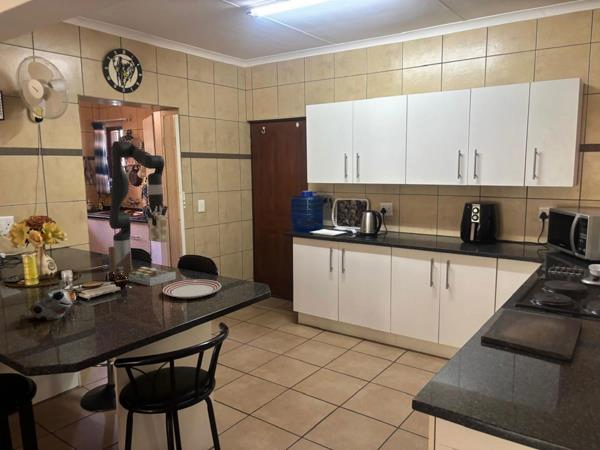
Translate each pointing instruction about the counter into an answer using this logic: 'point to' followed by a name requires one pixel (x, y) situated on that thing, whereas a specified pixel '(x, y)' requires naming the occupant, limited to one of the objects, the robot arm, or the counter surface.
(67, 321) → the counter surface
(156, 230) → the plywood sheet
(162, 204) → the robot arm
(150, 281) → the rack
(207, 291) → the dinner plate
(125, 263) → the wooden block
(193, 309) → the counter surface
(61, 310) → the lucky cat figurine
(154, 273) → the offcut stack
